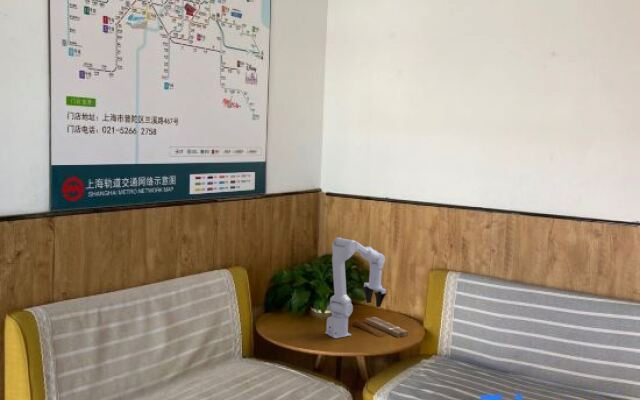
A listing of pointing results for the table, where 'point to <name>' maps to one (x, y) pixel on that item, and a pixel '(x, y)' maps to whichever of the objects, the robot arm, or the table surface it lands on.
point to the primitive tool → (368, 329)
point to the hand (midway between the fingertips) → (373, 304)
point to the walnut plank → (386, 327)
